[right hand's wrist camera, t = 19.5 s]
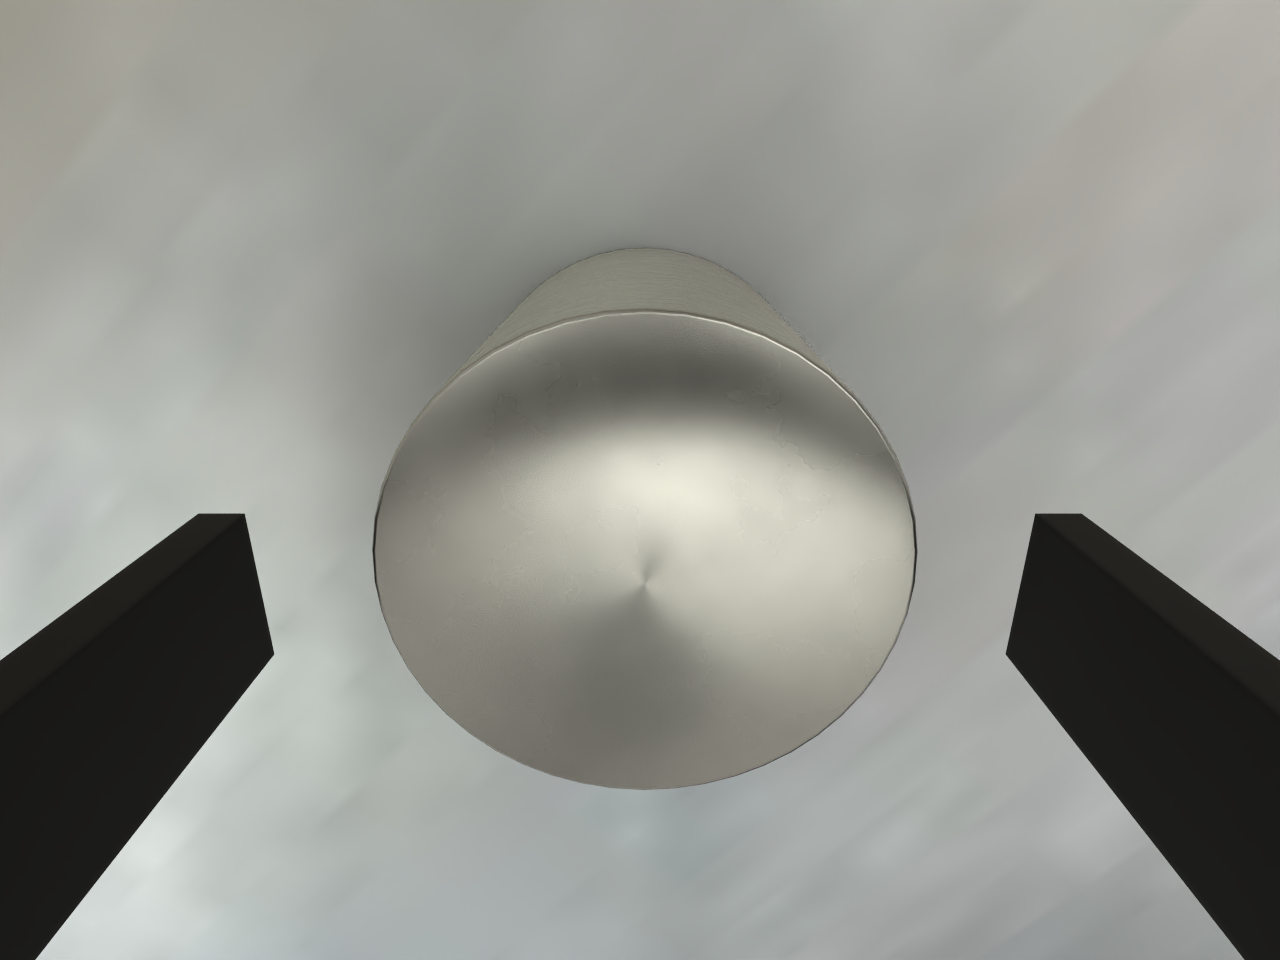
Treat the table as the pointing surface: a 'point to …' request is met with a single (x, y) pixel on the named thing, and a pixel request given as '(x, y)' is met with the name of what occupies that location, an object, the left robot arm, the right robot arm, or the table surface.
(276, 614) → the table surface
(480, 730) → the can
